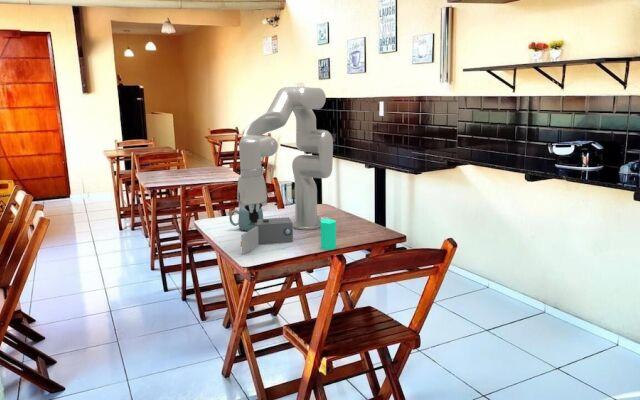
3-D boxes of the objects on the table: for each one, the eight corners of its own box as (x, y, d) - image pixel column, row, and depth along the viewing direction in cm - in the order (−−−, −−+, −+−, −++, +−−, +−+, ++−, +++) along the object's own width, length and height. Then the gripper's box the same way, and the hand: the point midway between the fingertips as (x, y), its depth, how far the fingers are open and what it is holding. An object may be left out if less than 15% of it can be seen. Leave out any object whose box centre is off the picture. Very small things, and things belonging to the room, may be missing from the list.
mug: (233, 234, 221) (232, 211, 219) (226, 228, 231) (225, 206, 229) (267, 230, 227) (266, 207, 224) (259, 224, 236) (259, 202, 234)
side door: (244, 254, 192) (243, 235, 191) (240, 253, 193) (239, 235, 191) (259, 244, 205) (258, 226, 204) (256, 243, 206) (255, 225, 204)
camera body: (289, 236, 217) (288, 215, 215) (293, 242, 208) (292, 220, 206) (255, 238, 214) (254, 217, 212) (257, 244, 205) (257, 223, 203)
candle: (320, 245, 204) (319, 215, 201) (335, 245, 204) (335, 215, 202) (321, 250, 198) (321, 219, 196) (337, 249, 198) (337, 218, 196)
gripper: (266, 169, 196) (268, 216, 200) (228, 173, 189) (231, 222, 194) (274, 172, 190) (276, 221, 194) (234, 177, 183) (237, 227, 187)
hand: (253, 221), depth 194 cm, fingers closed
